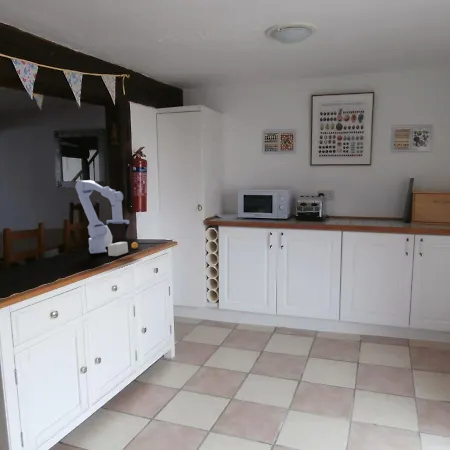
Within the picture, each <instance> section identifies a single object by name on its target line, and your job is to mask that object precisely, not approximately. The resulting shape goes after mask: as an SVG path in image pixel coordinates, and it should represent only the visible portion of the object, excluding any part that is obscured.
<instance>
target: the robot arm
mask: <svg viewBox="0 0 450 450" xmlns="http://www.w3.org/2000/svg"><path fill="white" fill-rule="evenodd" d="M74 187H75V191H76V193H77V195H78V199H79V201H80V204H81V206H82V208H83V210H84V214H85V216H86V217H87V220H88V222H89V223H88V226H87V229H88V235H89V238H88V246H89V247H88V251H89V253H90V254H100V253H108V250H107V249H106V247H105V235H106V234H107V228H106V227H105V226H104V225H105V224H104V222H102V221H101V220H100V219H99V218H98V215H97V213H96V210H95V209H94V206H93V203H92V202H91V199H90V195H92V193H93V191H96V192H98V193H100V194H101V196H103V197H105V198H106V199H108V201H109V203H110V205H111V217H112V219H107V220H106V225H107V226H108V228H109V229H110V232H111V235H112V237H114V236H116V225H117V224H120V229H121V233H122V235H121V236H122V237H126V236H127V232H128V228H129V226H130V219H124V217H123V204H122V202H123V200H124V194H123V192H122V191H120V190H119V191H116V189H112V188H110V186H108V185H107V186H102V185H100V184H98V183H97V182H96V181H94V180H92V179H88V180H77V181H76V183H75V186H74Z"/></svg>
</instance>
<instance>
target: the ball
mask: <svg viewBox="0 0 450 450" xmlns="http://www.w3.org/2000/svg"><path fill="white" fill-rule="evenodd" d="M138 246H139V243H137V242H136V241H134V242H132V243H131V248H132V249H133V250H134V249H137V248H138Z"/></svg>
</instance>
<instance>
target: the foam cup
mask: <svg viewBox="0 0 450 450" xmlns="http://www.w3.org/2000/svg"><path fill="white" fill-rule="evenodd" d="M104 226H105V227H106V228H107V234H106V235H105V248H106V247H107V248H108V245H110V244H113V236H112V235H111V232H110V229H109V228H108V226H107V224H106V225H105V224H104Z"/></svg>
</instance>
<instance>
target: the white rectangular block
mask: <svg viewBox="0 0 450 450" xmlns="http://www.w3.org/2000/svg"><path fill="white" fill-rule="evenodd" d="M128 248H129V247H128V242H127V241H119V242H115V243H113V242H112V244H110V245H108V247H107V253H108V256H109V257H111V256H112V257H118V256H121V255H124V254H127V253H129V249H128Z"/></svg>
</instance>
